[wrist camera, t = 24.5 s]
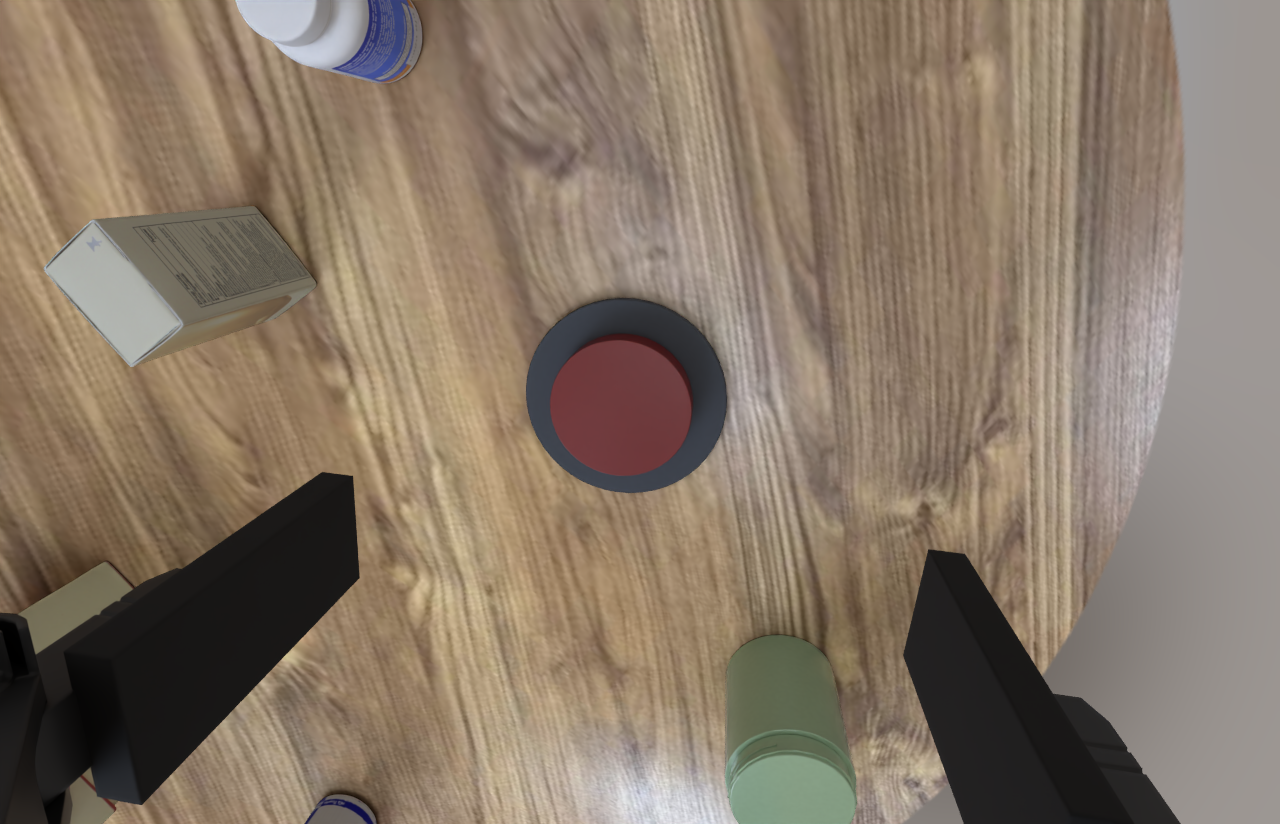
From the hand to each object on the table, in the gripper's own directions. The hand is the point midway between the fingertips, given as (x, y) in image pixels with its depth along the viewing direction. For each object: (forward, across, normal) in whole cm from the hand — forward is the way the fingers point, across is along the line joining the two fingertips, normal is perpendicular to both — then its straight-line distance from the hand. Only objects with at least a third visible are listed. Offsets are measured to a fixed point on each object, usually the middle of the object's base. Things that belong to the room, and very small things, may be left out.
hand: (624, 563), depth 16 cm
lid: (+26, -4, -5) cm, 27 cm away
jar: (+29, +9, -25) cm, 39 cm away
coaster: (+28, -4, -5) cm, 29 cm away
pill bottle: (+28, -20, +15) cm, 38 cm away
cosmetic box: (+28, -28, +1) cm, 40 cm away
